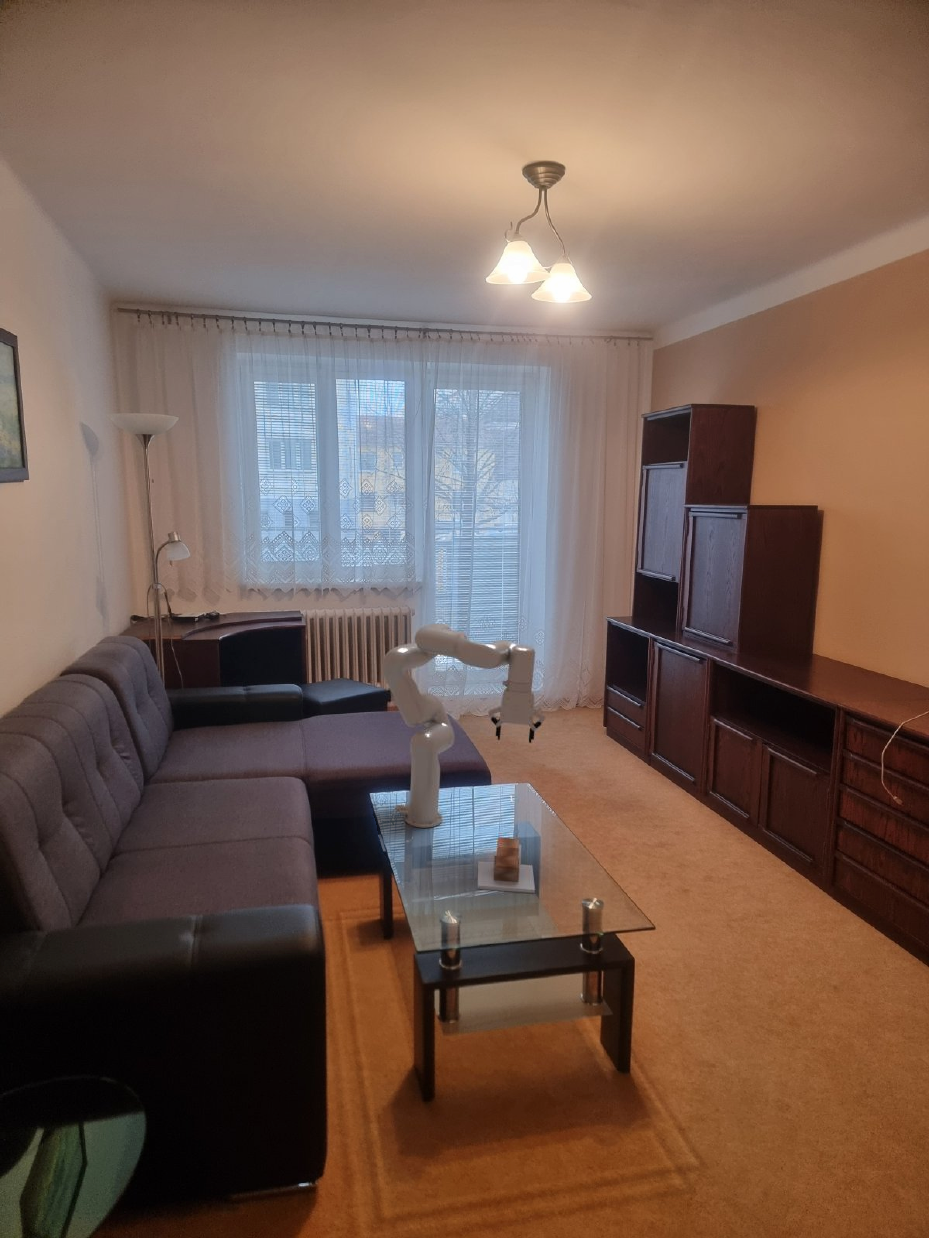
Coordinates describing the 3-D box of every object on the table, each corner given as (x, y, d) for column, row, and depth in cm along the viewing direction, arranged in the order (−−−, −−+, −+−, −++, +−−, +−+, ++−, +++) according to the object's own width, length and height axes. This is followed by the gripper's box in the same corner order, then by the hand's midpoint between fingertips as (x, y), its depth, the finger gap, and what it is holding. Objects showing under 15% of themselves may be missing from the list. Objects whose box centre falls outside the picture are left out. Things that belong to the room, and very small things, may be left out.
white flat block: (477, 888, 213) (478, 872, 212) (478, 864, 227) (479, 848, 226) (534, 892, 212) (535, 876, 211) (532, 868, 226) (533, 852, 225)
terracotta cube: (496, 866, 216) (497, 846, 215) (496, 856, 222) (497, 837, 221) (517, 868, 216) (519, 848, 214) (516, 857, 221) (518, 838, 220)
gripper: (490, 686, 227) (485, 741, 231) (548, 692, 227) (542, 746, 230) (491, 680, 235) (486, 733, 238) (547, 685, 234) (542, 738, 237)
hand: (514, 739), depth 234 cm, fingers open, 9 cm apart
